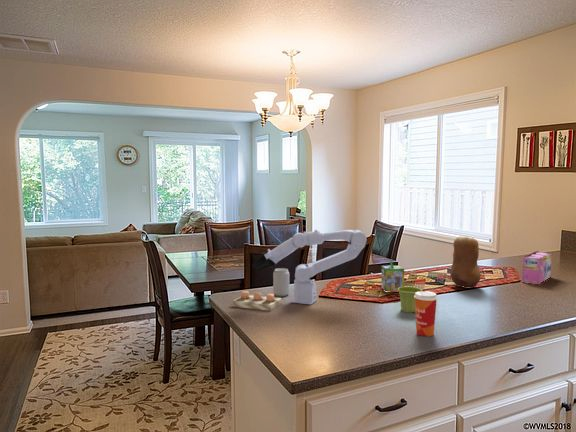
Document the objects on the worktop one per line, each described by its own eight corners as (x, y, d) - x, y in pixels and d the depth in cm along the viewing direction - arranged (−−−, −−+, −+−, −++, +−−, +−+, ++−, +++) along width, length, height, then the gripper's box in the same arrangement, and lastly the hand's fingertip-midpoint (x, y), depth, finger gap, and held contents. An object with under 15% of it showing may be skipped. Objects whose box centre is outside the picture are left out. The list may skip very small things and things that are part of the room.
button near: (275, 300, 179) (275, 294, 179) (272, 302, 176) (272, 296, 176) (268, 299, 180) (268, 293, 180) (264, 301, 177) (264, 295, 177)
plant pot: (421, 308, 174) (422, 287, 173) (421, 315, 165) (421, 293, 165) (398, 306, 177) (398, 285, 176) (396, 312, 168) (396, 291, 168)
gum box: (535, 275, 233) (536, 250, 231) (552, 277, 227) (553, 252, 226) (521, 282, 216) (522, 256, 215) (538, 285, 210) (540, 258, 209)
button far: (250, 297, 183) (250, 291, 183) (246, 299, 180) (246, 293, 180) (243, 297, 185) (243, 290, 184) (239, 299, 182) (239, 292, 181)
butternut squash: (482, 286, 209) (483, 235, 207) (477, 292, 198) (479, 239, 196) (452, 282, 217) (453, 234, 215) (446, 288, 206) (448, 237, 204)
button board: (282, 303, 182) (281, 297, 182) (271, 310, 172) (271, 304, 172) (244, 299, 189) (244, 293, 189) (232, 306, 179) (232, 300, 179)
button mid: (262, 299, 181) (262, 292, 181) (259, 301, 178) (259, 294, 178) (255, 298, 182) (255, 292, 182) (252, 300, 179) (252, 294, 179)
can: (287, 297, 192) (287, 271, 191) (271, 296, 194) (271, 270, 193) (290, 292, 200) (290, 267, 199) (275, 292, 201) (275, 267, 200)
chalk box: (404, 293, 197) (405, 261, 196) (384, 293, 198) (385, 262, 196) (399, 288, 207) (400, 258, 205) (380, 288, 207) (381, 258, 206)
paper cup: (409, 330, 149) (410, 290, 148) (431, 329, 149) (431, 290, 148) (418, 338, 141) (419, 297, 140) (440, 337, 142) (441, 296, 140)
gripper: (281, 246, 192) (256, 262, 193) (273, 241, 178) (246, 258, 179) (289, 259, 190) (264, 275, 191) (281, 255, 176) (254, 272, 177)
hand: (256, 268), depth 185 cm, fingers open, 7 cm apart
